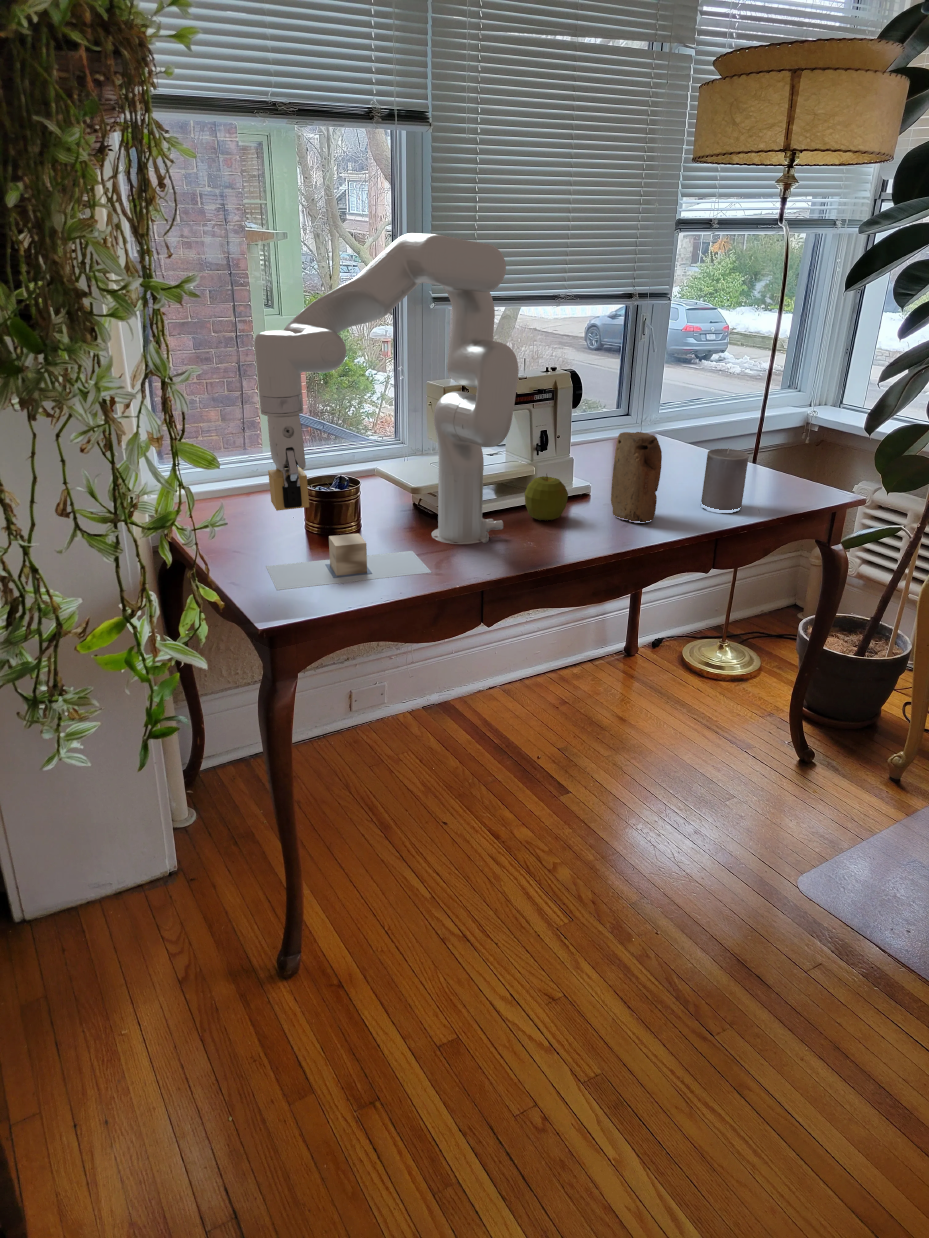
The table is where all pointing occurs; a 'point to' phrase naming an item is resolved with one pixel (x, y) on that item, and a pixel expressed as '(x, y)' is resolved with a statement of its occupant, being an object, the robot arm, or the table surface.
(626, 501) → the block
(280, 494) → the ochre cube
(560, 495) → the apple
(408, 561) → the board
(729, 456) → the pillar candle
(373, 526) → the table surface
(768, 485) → the table surface
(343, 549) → the maple cube
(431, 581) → the table surface
